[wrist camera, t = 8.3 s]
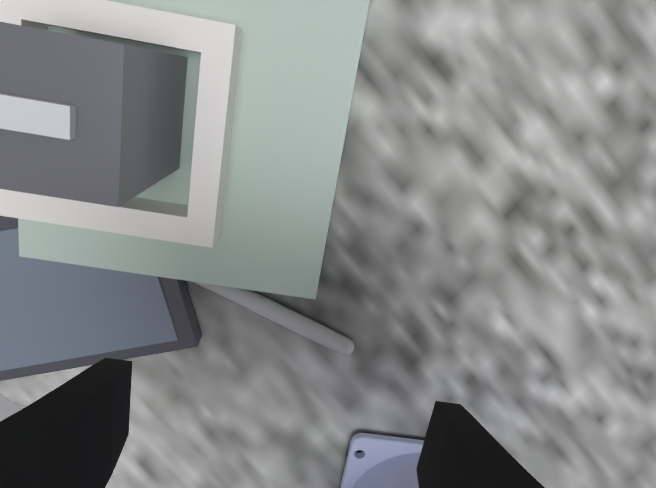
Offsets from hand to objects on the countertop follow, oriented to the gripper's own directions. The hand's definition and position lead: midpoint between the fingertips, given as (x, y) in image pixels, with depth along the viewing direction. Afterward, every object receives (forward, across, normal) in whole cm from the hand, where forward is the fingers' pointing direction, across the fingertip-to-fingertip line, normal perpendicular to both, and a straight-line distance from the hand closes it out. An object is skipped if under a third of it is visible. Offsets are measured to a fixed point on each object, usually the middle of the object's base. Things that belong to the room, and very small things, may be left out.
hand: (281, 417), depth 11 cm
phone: (+10, +11, +3) cm, 15 cm away
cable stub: (+10, +1, +2) cm, 10 cm away
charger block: (+9, +7, -6) cm, 13 cm away
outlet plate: (+10, +5, -7) cm, 13 cm away
